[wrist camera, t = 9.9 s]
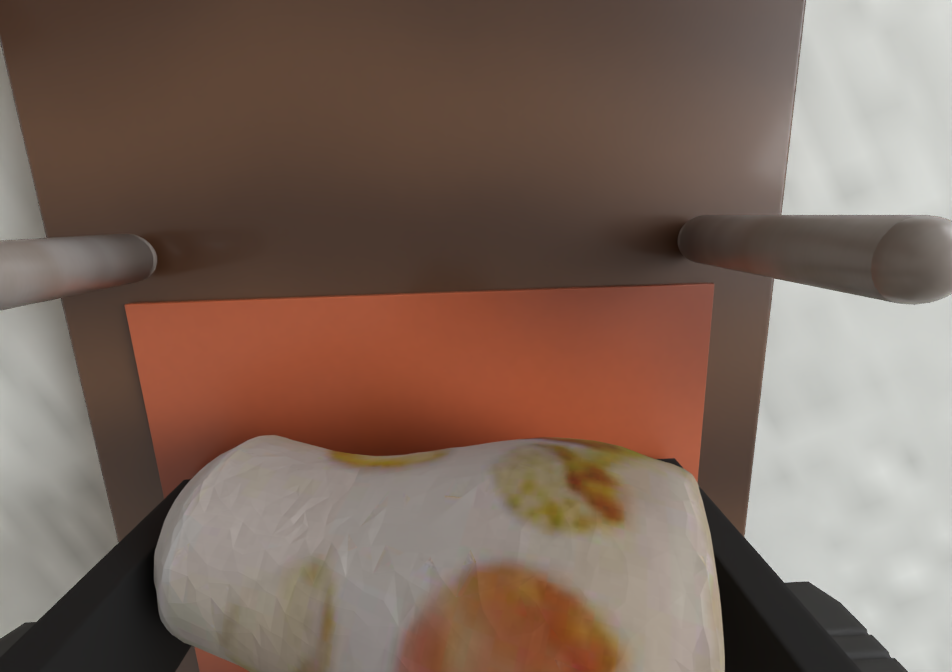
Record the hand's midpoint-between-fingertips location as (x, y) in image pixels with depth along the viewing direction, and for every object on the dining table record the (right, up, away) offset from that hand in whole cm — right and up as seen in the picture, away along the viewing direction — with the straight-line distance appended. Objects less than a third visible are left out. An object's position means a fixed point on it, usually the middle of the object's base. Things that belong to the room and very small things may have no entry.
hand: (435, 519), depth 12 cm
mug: (0, 0, 0) cm, 0 cm away
